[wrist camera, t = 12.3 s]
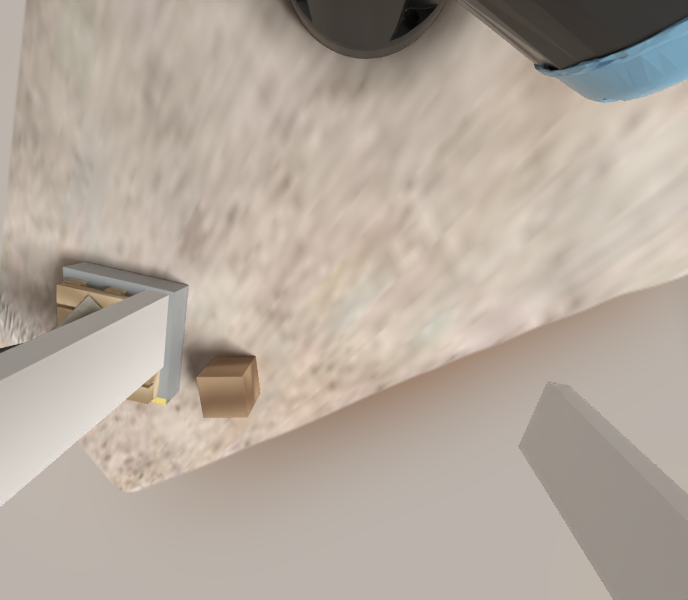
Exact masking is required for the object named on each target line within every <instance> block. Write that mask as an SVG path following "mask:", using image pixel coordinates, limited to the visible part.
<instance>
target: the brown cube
mask: <svg viewBox="0 0 688 600" xmlns="http://www.w3.org/2000/svg"><path fill="white" fill-rule="evenodd" d="M196 379H197V384H198V390H199V395H200V401H201V406H202V412H203V417H204V418H217V417H248V416H249V414H250V412H251V410H252V408H253V406H254V404H255V402H256V400H257V398H258V396H259V395H260V387H259V379H258V371H257V363H256V356H244V357H214V358H213V360H212V361H211V362H210V363H209V364H208V365H207V366H206V367H205V368H204V369H203V370H202V372H201V373H200V374H199V375H198V376H197V377H196Z"/></svg>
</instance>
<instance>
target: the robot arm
mask: <svg viewBox="0 0 688 600" xmlns="http://www.w3.org/2000/svg"><path fill="white" fill-rule="evenodd" d="M456 1H457V2H458V3H460V4H461V5H462V6H463V7H465V8H466V9H467V10H468V11H470V12H471V13H472V14H473V15H475V16H476V17H477V18H478V19H480V20H481V21H482V22H483V23H485V24H486V25H487V26H488V27H490V28H491V29H492V30H493V31H495V32H496V33H497V34H498V35H500V36H501V37H502V38H503V39H505V40H506V41H507V42H508V43H510V44H511V45H512V46H513V47H515V48H516V49H517V50H518V51H520V52H521V53H522V54H523V55H525V56H526V57H527V58H528V59H530V60H531V61H532V62H533V63H534V66H535V69H536V70H538V71H539V72H540V73H542V74H544V75H547V76H553V77H556V78H557V79H559V80H560V81H562V82H563V83H564V84H566V85H567V86H569V87H570V88H572V89H573V90H575V91H576V92H578V93H579V94H580V95H582V96H584V97H585V98H587V99H590V100H593V101H597V102H614V101H619V100H623V101H627V100H633V99H637V98H640V97H644V96H647V95H650V94H653V93H656V92H659V91H661V90H664V89H666V88H669V87H671V86H673V85H676V84H678V83H680V82H682V81H684V80H686V79H688V0H456ZM445 2H446V0H291V3H292V5H293V7H294V9H295V12H296V13H297V15H298V17H299V19H300V20H301V22H302V23H303V25H304V26H305V27H306V28H307V30H308V31H309V32H310V33H311V34H312V35H313V36H314V37H315V38H316V39H317V40H318V41H319V42H321V43H322V44H323V45H325V46H326V47H328V48H330V49H331V50H333V51H335V52H337V53H340V54H342V55H345V56H349V57H354V58H362V59H370V58H378V57H383V56H387V55H390V54H393V53H395V52H398V51H400V50H402V49H403V48H405V47H407V46H408V45H410V44H411V43H413V42H414V41H415V40H417V39H418V38H419V37H420V36H421V35H422V34H423V33H424V32H425V31H426V30H427V29H428V28H429V27H430V26H431V24H432V23H433V22H434V20H435V19H436V18H437V16H438V15H439V13H440V11H441V10H442V8H443V6H444V4H445ZM168 301H169V295H168V294H163V293H159V292H154V291H150V290H145V291H142V292H140V293H138V294H135V295H133V296H131V297H129V298H126V299H124V300H122V301H119V302H117V303H115V304H112V305H110V306H108V307H105V308H103V309H101V310H99V311H96V312H94V313H92V314H89V315H87V316H85V317H82V318H80V319H78V320H76V321H73V322H71V323H69V324H66V325H64V326H62V327H59V328H57V329H55V330H52V331H50V332H48V333H46V334H43V335H41V336H39V337H36V338H34V339H32V340H29V341H27V342H25V343H21V344H17V345H13V346H9V347H4V348H0V507H1V506H2V505H3V504H4V503H5V502H7V501H8V500H9V499H10V498H11V497H12V496H14V495H15V494H16V493H17V492H18V491H19V490H21V489H22V488H23V487H24V486H25V485H26V484H27V483H29V482H30V481H31V480H32V479H33V478H34V477H36V476H37V475H38V474H39V473H40V472H42V470H44V469H45V468H46V467H47V466H49V465H50V464H51V463H52V462H53V461H54V460H55V459H57V458H58V457H59V456H60V455H61V454H62V453H63V452H65V451H66V450H67V449H68V448H69V447H71V446H72V445H73V444H74V443H75V442H76V441H78V440H79V439H80V438H81V437H82V436H83V435H85V434H86V433H87V432H88V431H89V430H90V429H92V428H93V427H94V426H95V425H96V424H97V423H99V422H100V421H101V420H102V419H103V418H104V417H106V416H107V415H108V414H109V413H110V412H111V411H113V410H114V409H115V408H116V407H117V406H118V405H120V404H121V403H122V402H123V401H124V400H125V399H127V398H128V397H129V396H130V395H131V394H132V393H134V392H135V391H136V390H137V389H138V388H139V387H141V386H142V385H143V384H144V383H145V382H146V381H148V380H149V379H150V378H151V377H152V376H153V375H155V374H156V373H157V372H158V371H159V370H160V369H162V368H163V366H164V353H165V340H166V327H167V314H168ZM519 448H520V450H521V451H522V453H523V455H524V456H525V458H526V459H527V461H528V463H529V464H530V466H531V468H532V469H533V471H534V472H535V474H536V475H537V477H538V479H539V480H540V482H541V484H542V485H543V487H544V488H545V490H546V492H547V493H548V495H549V497H550V498H551V500H552V501H553V503H554V505H555V506H556V508H557V509H558V511H559V513H560V514H561V516H562V518H563V519H564V520H565V522H566V524H567V526H568V527H569V529H570V530H571V532H572V534H573V535H574V537H575V538H576V540H577V542H578V543H579V545H580V547H581V548H582V550H583V551H584V553H585V555H586V556H587V558H588V560H589V561H590V563H591V564H592V566H593V567H594V569H595V571H596V572H597V574H598V576H599V577H600V579H601V580H602V582H603V584H604V585H605V587H606V589H607V590H608V592H609V593H610V595H611V597H612V598H613V600H688V494H687V493H686V492H685V491H683V490H682V489H681V488H680V487H679V486H678V485H677V484H676V483H675V482H674V481H673V480H671V479H670V478H669V477H668V476H667V475H666V474H665V473H664V472H663V471H662V470H661V469H660V468H658V467H657V466H656V465H655V464H654V463H653V462H652V461H651V460H650V459H649V458H648V457H646V456H645V455H644V454H643V453H642V452H641V451H640V450H639V449H638V448H637V447H636V446H634V445H633V444H632V443H631V442H630V441H629V440H628V439H627V438H626V437H625V436H623V434H621V433H620V432H619V431H618V430H617V429H616V428H615V427H614V426H613V425H612V424H611V423H609V422H608V421H607V420H606V419H605V418H604V417H603V416H602V415H601V414H600V413H599V412H598V411H596V410H595V409H594V408H593V407H592V406H591V405H590V404H589V403H588V402H587V401H586V400H585V399H583V398H582V397H581V396H580V395H579V394H578V393H577V392H576V391H575V390H574V389H573V388H572V387H570V386H568V385H564V384H560V383H555V382H551V381H548V382H547V384H546V386H545V389H544V391H543V393H542V395H541V397H540V400H539V402H538V404H537V406H536V409H535V411H534V413H533V415H532V418H531V420H530V422H529V424H528V427H527V429H526V431H525V433H524V435H523V438H522V440H521V442H520V445H519Z"/></svg>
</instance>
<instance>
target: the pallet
mask: <svg viewBox="0 0 688 600" xmlns="http://www.w3.org/2000/svg"><path fill="white" fill-rule="evenodd" d="M56 296H57V303H59V304H63V305H60V306H57V325H58V324H59V323H60V322H61V321H63V320H64V319H65V318H66V317H67V316H68V315H69V314H70V313H71V312H72V311H74V309H76V308H77V307H78V306H79V305H80V304H81V303H82V302H83V301H84V300H85V299H86V298H87V297H88V296H90V297H91V298H92V299H93V300H94V301H95V302H96V304H98V305H99V306H100V307H101V308H102V309H103V308H105V307H108V306H110V305H112V304H115V303H117V302H119V301H122V300H124V299H126V298H129V297H128V296H126V290H123V289H118V288H114V287H110V288H107V289H104V291H101V290H97V289H93V288H88V287H87V281H83V280H78V279H74V278H71V279H67V280H64V282H63V283H60V284H56ZM159 375H160V370H159V371H158V372H157V373H156V374H155V375H153V376H152V377H151V378H150V379H149V380H148V381H146V382H145V383H144V384H143V385H142V386H141V387H139V388H138V389H137V390H136V391H135V392H134V393H132V394H131V395H130V396H129V397H128V398H127V399H128V400H132V401H137V402H141V403H146V404H148V403H149V402H151V401H152V400H154V399H155V398H156V397H157V396H158V389H159Z"/></svg>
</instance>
